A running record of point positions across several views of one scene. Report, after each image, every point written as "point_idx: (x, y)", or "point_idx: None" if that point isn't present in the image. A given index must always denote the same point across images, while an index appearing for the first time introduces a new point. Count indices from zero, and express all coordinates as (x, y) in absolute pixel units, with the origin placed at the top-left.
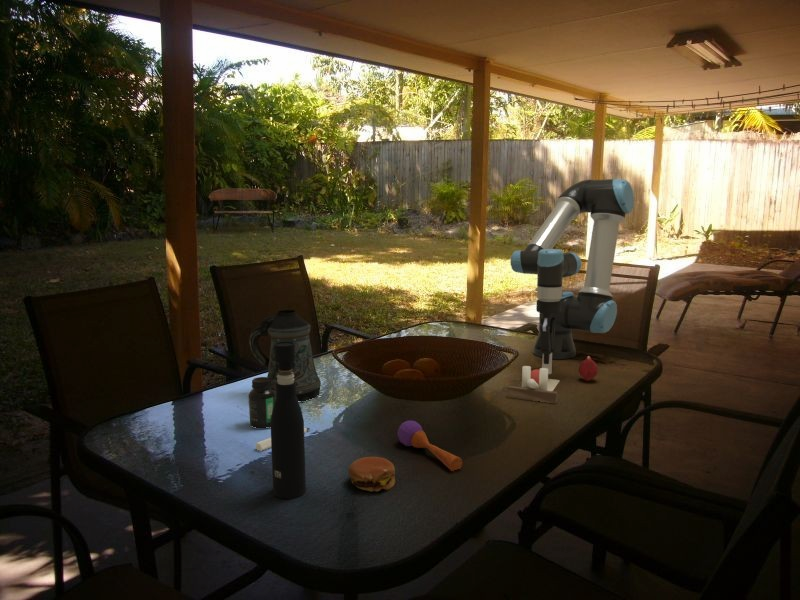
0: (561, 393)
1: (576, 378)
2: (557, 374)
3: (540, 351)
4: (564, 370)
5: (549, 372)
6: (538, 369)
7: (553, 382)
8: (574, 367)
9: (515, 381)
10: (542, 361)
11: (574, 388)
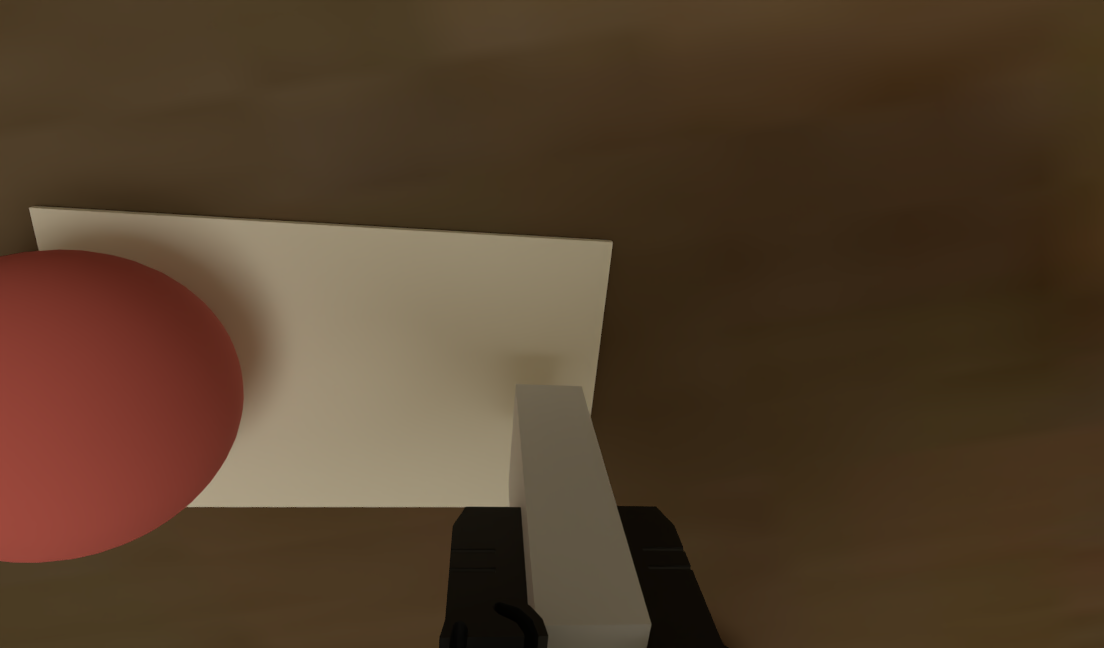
0: (145, 578)
1: (710, 607)
2: (812, 447)
3: (480, 642)
4: (968, 482)
5: (508, 485)
6: (16, 500)
7: (471, 466)
8: (1077, 542)
9: (341, 5)
10: (525, 494)
11: (378, 641)
